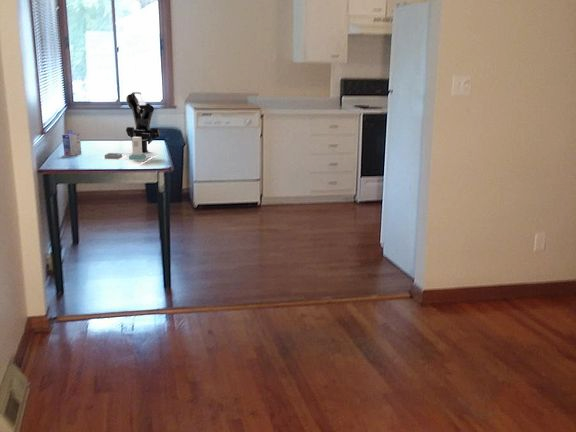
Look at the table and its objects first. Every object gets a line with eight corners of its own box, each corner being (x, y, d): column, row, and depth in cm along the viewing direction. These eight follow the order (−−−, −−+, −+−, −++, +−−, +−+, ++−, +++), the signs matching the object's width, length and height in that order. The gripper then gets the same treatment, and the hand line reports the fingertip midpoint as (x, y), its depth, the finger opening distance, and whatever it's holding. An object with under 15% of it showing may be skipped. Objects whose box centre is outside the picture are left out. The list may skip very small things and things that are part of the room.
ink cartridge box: (74, 153, 370) (72, 129, 367) (81, 153, 369) (80, 129, 365) (63, 155, 361) (61, 130, 358) (71, 156, 360) (69, 131, 356)
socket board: (101, 160, 345) (100, 155, 345) (108, 157, 357) (108, 152, 356) (143, 161, 344) (143, 156, 344) (149, 158, 356) (149, 153, 355)
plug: (134, 157, 352) (133, 136, 349) (142, 157, 352) (141, 136, 349) (132, 158, 348) (131, 137, 345) (140, 159, 348) (139, 137, 345)
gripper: (126, 113, 357) (121, 134, 349) (158, 114, 356) (153, 135, 348) (130, 125, 367) (125, 146, 359) (161, 126, 366) (157, 147, 358)
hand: (140, 143), depth 356 cm, fingers open, 9 cm apart
